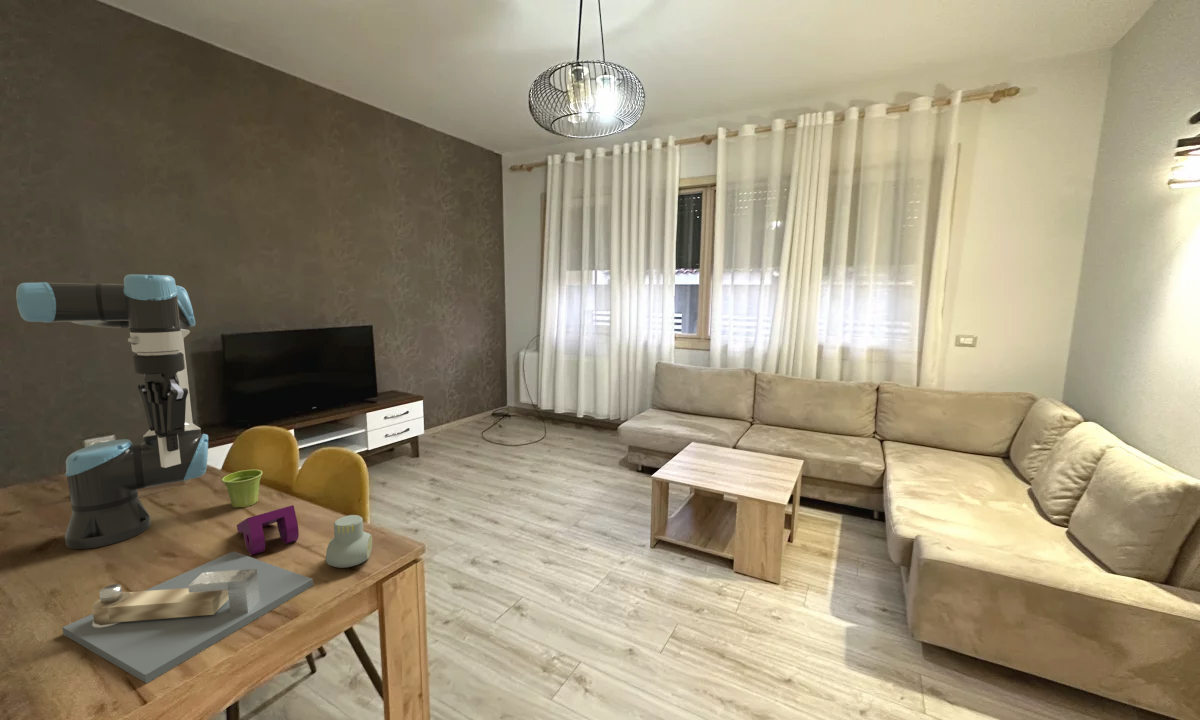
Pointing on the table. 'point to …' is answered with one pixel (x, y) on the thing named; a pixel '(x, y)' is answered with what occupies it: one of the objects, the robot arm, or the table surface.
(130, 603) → the brass bar
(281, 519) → the mounting bracket
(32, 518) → the table surface
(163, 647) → the slate board
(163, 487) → the walnut can frame
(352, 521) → the air freshener
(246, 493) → the plant pot
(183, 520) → the table surface
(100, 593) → the cylinder
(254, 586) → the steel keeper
